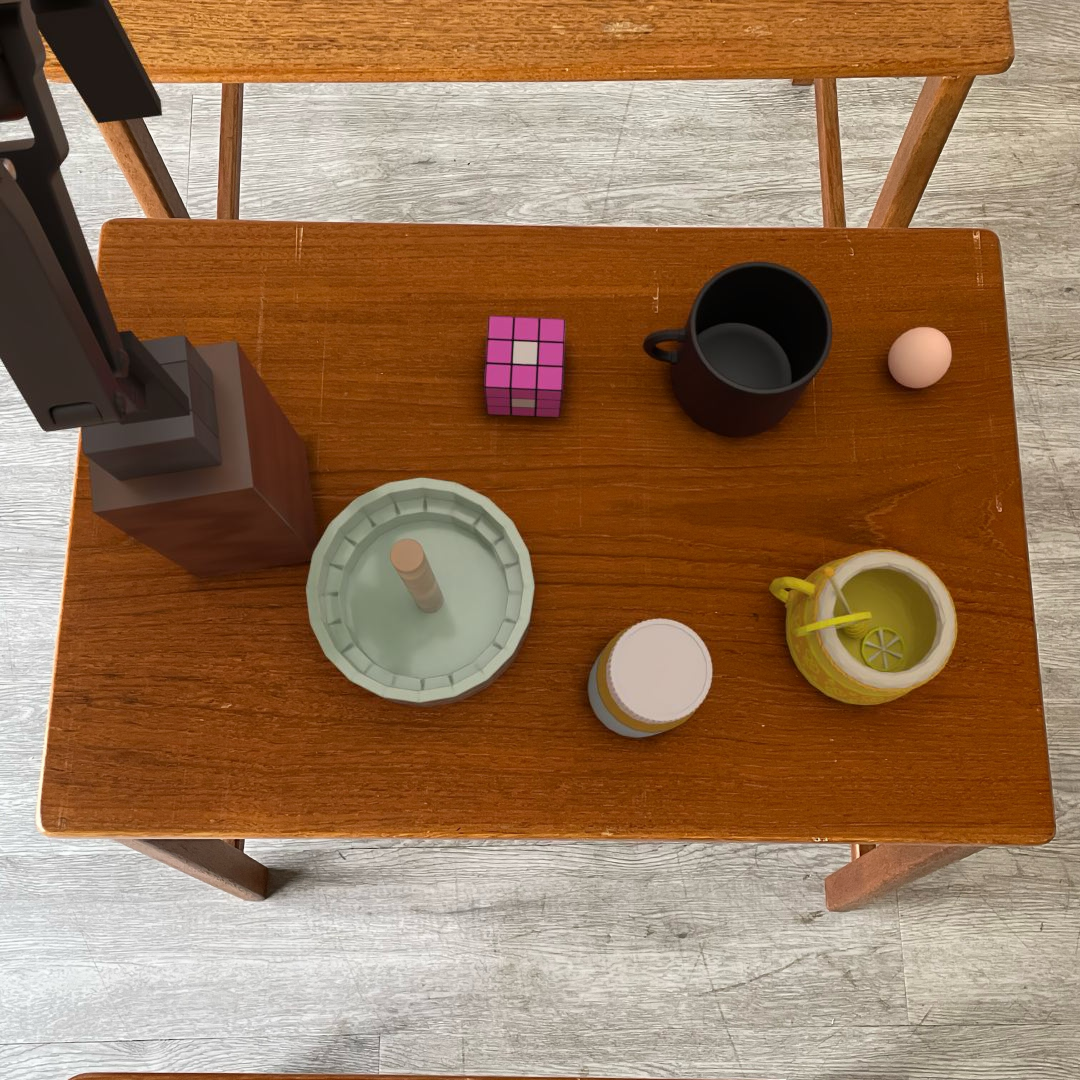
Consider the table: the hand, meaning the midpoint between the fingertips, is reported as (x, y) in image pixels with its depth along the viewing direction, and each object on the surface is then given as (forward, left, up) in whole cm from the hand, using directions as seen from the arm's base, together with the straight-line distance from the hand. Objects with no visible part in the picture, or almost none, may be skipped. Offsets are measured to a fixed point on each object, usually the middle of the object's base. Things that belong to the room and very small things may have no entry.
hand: (142, 257), depth 43 cm
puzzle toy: (+17, +6, -37) cm, 42 cm away
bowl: (+7, -10, -37) cm, 39 cm away
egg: (+47, +2, -37) cm, 60 cm away
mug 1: (+32, +4, -37) cm, 50 cm away
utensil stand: (-5, -1, -37) cm, 37 cm away
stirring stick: (+7, -10, -36) cm, 38 cm away
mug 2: (+37, -17, -37) cm, 55 cm away
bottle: (+21, -19, -37) cm, 47 cm away
